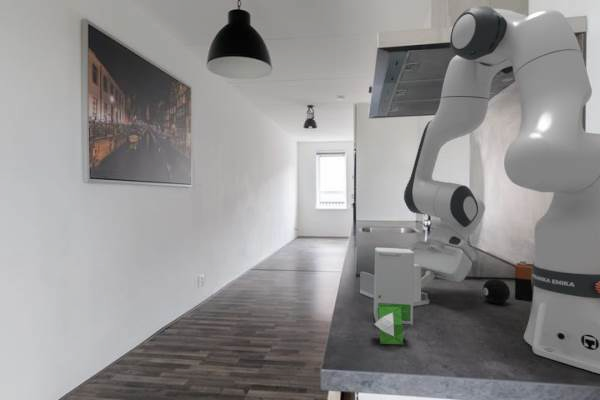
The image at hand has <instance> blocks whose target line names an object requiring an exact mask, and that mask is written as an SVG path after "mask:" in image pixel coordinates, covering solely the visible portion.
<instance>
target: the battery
mask: <svg viewBox="0 0 600 400" xmlns="http://www.w3.org/2000/svg"><path fill="white" fill-rule="evenodd" d="M533 265H534V263H527V261H522V260H520V261H519V262H517V263H516V265H515V266H514V298H515V300H516V299H517V300H520V301H528V302H532V300H533V291H532V285H531V274H532V266H533Z"/></svg>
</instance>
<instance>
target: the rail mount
mask: <svg viewBox="0 0 600 400" xmlns="http://www.w3.org/2000/svg"><path fill="white" fill-rule="evenodd" d="M374 275H375V274H372V273H369V272H366V271H360V272H359V294H361V295H363V296H366V297H369V298H371V299H373V300H374ZM428 295H429V294H428V293H426V292H423V291H421V301H418V302H413V307H417V306H423V305H428V304H430V299H429V297H428Z"/></svg>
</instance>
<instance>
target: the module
mask: <svg viewBox="0 0 600 400" xmlns="http://www.w3.org/2000/svg"><path fill="white" fill-rule="evenodd" d="M421 278H422V276H421V265H418V264H414V289H413V302H418V301H421V292H422V288H421Z"/></svg>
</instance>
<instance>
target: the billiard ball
mask: <svg viewBox="0 0 600 400" xmlns="http://www.w3.org/2000/svg"><path fill="white" fill-rule="evenodd" d="M482 294H483V296H484V298H485V299H486V300H487V301H489V302H490V303H493V304H503V303H505V302H507V301H508V300H509V298H510V295H511V290H510V287H509V286H508V284H507V282H504V281H503V280H500V279H497V278H496V279H495V278H494V279H489V280H487V281H485V283H484V284H483V287H482Z"/></svg>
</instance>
